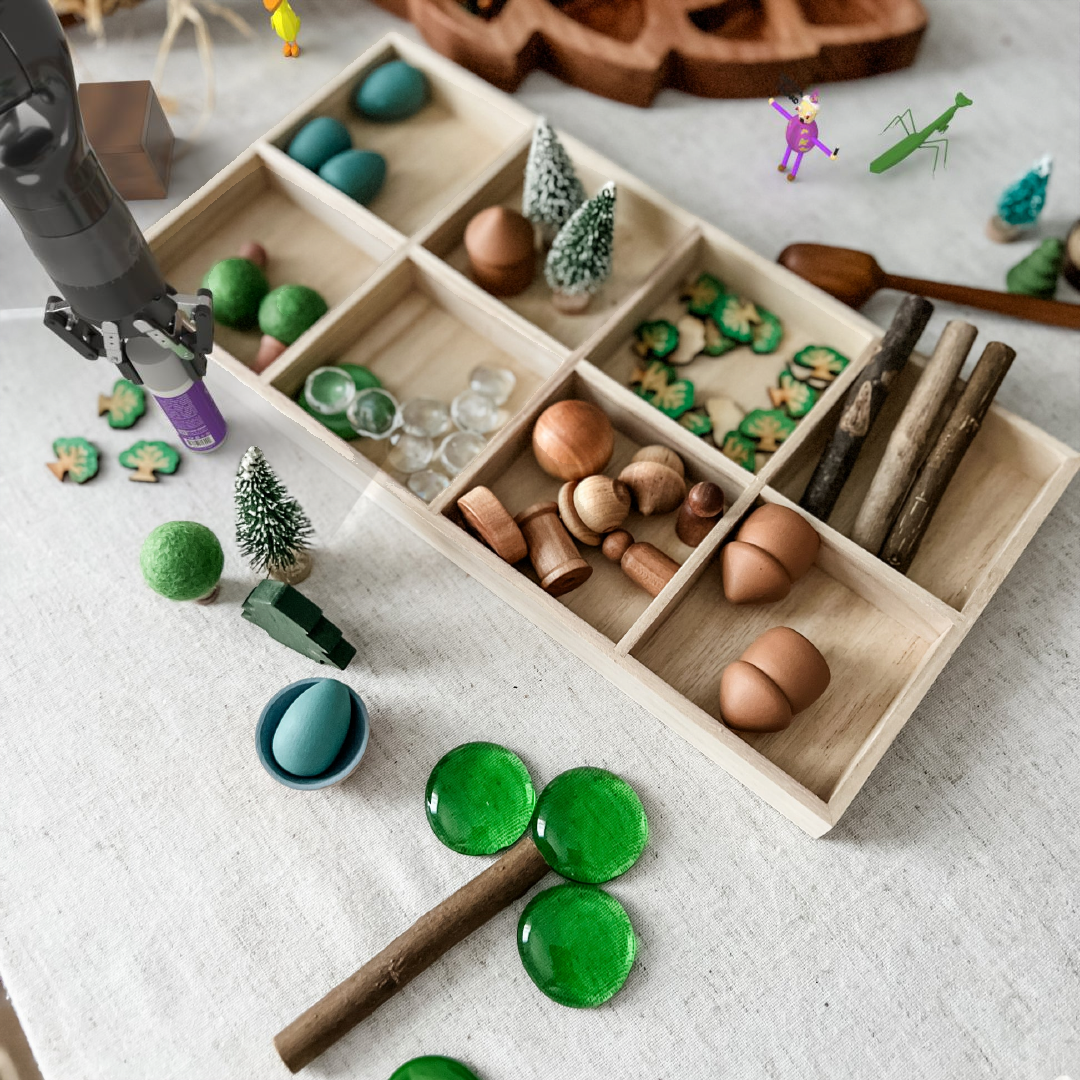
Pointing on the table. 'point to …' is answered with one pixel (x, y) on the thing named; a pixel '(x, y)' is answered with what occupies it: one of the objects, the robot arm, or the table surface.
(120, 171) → the brown wooden cube
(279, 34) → the toy figure
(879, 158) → the praying mantis
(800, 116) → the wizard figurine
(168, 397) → the container
